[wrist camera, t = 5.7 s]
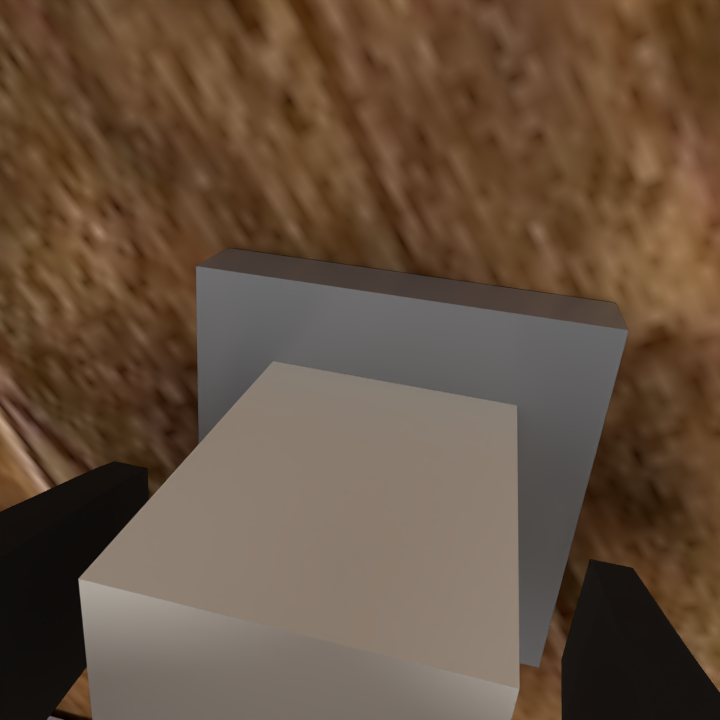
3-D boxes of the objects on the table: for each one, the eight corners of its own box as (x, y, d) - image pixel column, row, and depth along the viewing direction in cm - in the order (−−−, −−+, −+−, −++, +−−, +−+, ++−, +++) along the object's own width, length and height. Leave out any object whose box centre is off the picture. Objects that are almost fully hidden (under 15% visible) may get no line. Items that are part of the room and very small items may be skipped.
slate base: (227, 546, 16) (200, 588, 15) (228, 248, 13) (195, 266, 12) (536, 614, 15) (539, 667, 13) (615, 302, 12) (628, 330, 11)
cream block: (263, 552, 14) (104, 846, 9) (273, 361, 12) (78, 578, 7) (474, 601, 13) (446, 955, 8) (517, 405, 11) (519, 689, 6)
